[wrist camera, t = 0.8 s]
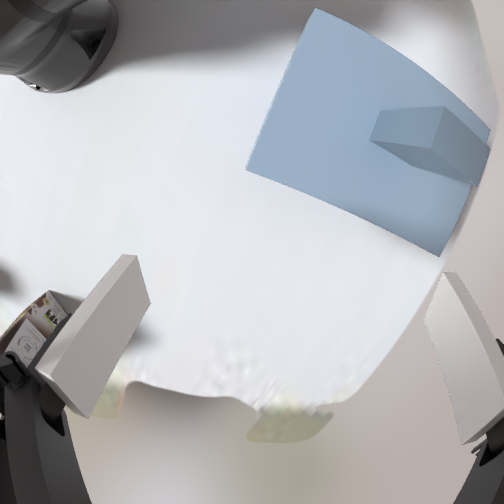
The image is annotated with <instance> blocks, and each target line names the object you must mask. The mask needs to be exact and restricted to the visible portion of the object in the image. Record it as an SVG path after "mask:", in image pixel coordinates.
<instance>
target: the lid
mask: <svg viewBox="0 0 504 504" xmlns="http://www.w3.org/2000/svg"><path fill="white" fill-rule="evenodd" d="M489 133H490V129H489V128H488V127H487V126H486V125H485V124H484V123H483V121H482V120H481V119H480V118H479V117H478V116H477V115H476V114H475V113H474V112H473V111H472V110H470V109H469V108H468V107H467V106H466V105H465V104H464V103H463V102H462V101H461V100H460V99H459V98H458V97H456V96H455V95H454V94H453V93H452V92H451V91H450V90H448V89H447V88H446V87H445V86H444V85H442V84H441V83H440V82H439V81H438V80H436V79H435V78H434V77H433V76H431V75H430V74H429V73H427V72H426V71H425V70H423V69H422V68H421V67H419V66H418V65H417V64H415V63H414V62H412V61H411V60H410V59H408V58H407V57H405V56H404V55H402V54H401V53H399V52H398V51H396V50H395V49H393V48H392V47H390V46H388V45H387V44H385V43H384V42H382V41H380V40H379V39H377V38H375V37H374V36H372V35H370V34H368V33H367V32H365V31H363V30H361V29H359V28H357V27H355V26H354V25H352V24H350V23H348V22H346V21H344V20H342V19H340V18H338V17H335V16H333V15H331V14H329V13H327V12H325V11H322V10H320V9H318V8H315V9H314V11H313V12H312V14H311V16H310V17H309V19H308V21H307V23H306V25H305V28H304V30H303V32H302V34H301V36H300V39H299V41H298V43H297V45H296V47H295V50H294V52H293V54H292V56H291V59H290V61H289V63H288V65H287V68H286V70H285V72H284V75H283V77H282V79H281V81H280V84H279V86H278V88H277V91H276V93H275V95H274V98H273V100H272V103H271V105H270V107H269V110H268V112H267V115H266V117H265V119H264V122H263V124H262V127H261V129H260V132H259V134H258V137H257V139H256V142H255V144H254V147H253V149H252V152H251V154H250V157H249V159H248V162H247V164H246V170H247V171H250V172H253V173H255V174H258V175H261V176H263V177H266V178H268V179H271V180H274V181H276V182H279V183H281V184H284V185H286V186H289V187H291V188H294V189H296V190H299V191H301V192H303V193H306V194H308V195H311V196H313V197H315V198H318V199H320V200H322V201H325V202H327V203H329V204H332V205H334V206H336V207H338V208H341V209H343V210H345V211H347V212H349V213H352V214H354V215H356V216H358V217H360V218H362V219H365V220H367V221H369V222H371V223H373V224H375V225H377V226H379V227H381V228H383V229H386V230H388V231H390V232H392V233H394V234H396V235H398V236H400V237H402V238H404V239H406V240H407V241H409V242H411V243H413V244H415V245H417V246H419V247H421V248H423V249H425V250H427V251H428V252H430V253H432V254H434V255H436V256H438V257H439V256H440V255H441V253H442V251H443V249H444V247H445V245H446V243H447V241H448V239H449V237H450V235H451V233H452V231H453V229H454V226H455V224H456V222H457V220H458V218H459V216H460V213H461V211H462V209H463V206H464V204H465V202H466V199H467V197H468V194H469V192H470V189H471V187H472V185H473V186H475V187H478V184H479V181H480V179H481V176H482V173H483V170H484V167H485V164H486V161H487V158H488V155H489V152H490V148H489V147H488V146H487V145H486V143H487V140H488V137H489Z"/></svg>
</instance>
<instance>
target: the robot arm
mask: <svg viewBox="0 0 504 504" xmlns="http://www.w3.org/2000/svg"><path fill="white" fill-rule="evenodd" d="M117 25H118V19H117V13H116V10H115V8H114V6H113V5H112V3H111V2H109V1H108V0H0V74H3V75H14V76H16V77H17V78H19V79H20V80H21V81H23V82H24V83H25V84H27V85H28V86H29V87H31V88H32V89H34V90H36V91H39V92H44V93H61V92H65V91H68V90H70V89H72V88H74V87H76V86H77V85H79V84H81V83H82V82H83V81H85V80H86V79H87V78H88V77H89V76H90V75H91V74H92V73H93V72H94V71H95V70H96V69H97V68H98V67H99V66H100V64H101V63H102V62H103V60H104V59H105V57H106V56H107V54H108V52H109V50H110V48H111V46H112V44H113V41H114V39H115V36H116V32H117ZM150 304H151V303H150V300H149V297H148V293H147V290H146V286H145V283H144V279H143V276H142V272H141V269H140V265H139V261H138V257H137V255H124V254H123V255H122V256H121V257H120V258H119V259H118V260H117V262H116V263H115V264H114V265H113V266H112V267H111V269H110V270H109V271H108V272H107V273H106V274H105V276H104V277H103V278H102V279H101V280H100V282H99V283H98V284H97V285H96V286H95V288H94V289H93V290H92V291H91V292H90V294H89V295H88V296H87V297H86V299H85V300H84V301H83V302H82V304H81V305H80V306H79V308H78V309H77V310H76V311H75V313H74V314H69V315H68V316H66V317H65V318H64V319H63V320H61V321H60V322H59V324H58V325H57V326H56V328H55V329H54V330H53V331H54V332H52V333H51V334H50V336H49V337H48V340H46V341H45V342H44V344H43V345H42V347H41V348H40V349H39V351H38V352H37V354H36V355H35V357H34V358H33V359H32V361H31V362H30V364H29V365H28V366H27V367H26V366H25V365H24V363H23V362H22V361H21V359H20V358H19V357H18V355H17V354H16V353H15V352H13V351H6V352H4V353H2V354H1V355H0V413H1V414H2V417H1V419H0V504H92V503H91V501H90V498H89V495H88V492H87V490H86V487H85V484H84V481H83V478H82V475H81V471H80V468H79V465H78V461H77V458H76V455H75V451H74V447H73V443H72V439H71V434H70V430H69V426H68V421H67V416H66V413H65V411H64V410H63V409H64V407H65V405H67V406H68V407H69V408H70V409H71V410H72V411H73V412H74V413H76V414H78V415H80V416H82V417H85V418H87V419H89V417H90V415H91V413H92V411H93V409H94V407H95V405H96V403H97V401H98V399H99V397H100V395H101V393H102V391H103V389H104V387H105V385H106V383H107V381H108V379H109V377H110V375H111V373H112V372H113V370H114V368H115V366H116V364H117V362H118V360H119V359H120V357H121V355H122V353H123V351H124V349H125V348H126V346H127V344H128V342H129V340H130V339H131V337H132V335H133V333H134V332H135V330H136V328H137V326H138V325H139V323H140V321H141V319H142V318H143V316H144V314H145V312H146V311H147V309H148V307H149V306H150ZM423 320H424V322H425V325H426V328H427V330H428V333H429V335H430V338H431V341H432V343H433V346H434V349H435V352H436V355H437V358H438V361H439V363H440V366H441V370H442V373H443V376H444V379H445V382H446V385H447V389H448V393H449V396H450V400H451V403H452V407H453V411H454V415H455V419H456V423H457V428H458V432H459V437H460V442H461V445H464V444H467V443H470V442H473V441H476V440H477V439H479V438H480V437H481V436H483V435H484V434H485V433H486V436H487V439H485V440H484V441H483V442H482V443H480V444H479V445H478V446H476V447H475V448H474V449H473V450H472V452H471V453H474V452H476V451H477V450H479V449H480V451H479V452H478V453H477V454H476V456H477V458H476V460H475V462H474V464H473V467H472V469H471V471H470V473H469V475H468V477H467V479H466V481H465V483H464V485H463V487H462V489H461V491H460V492H459V494H458V496H457V498H456V500H455V501H454V503H453V504H504V344H503V343H502V342H501V341H500V340H499V339H495V338H494V336H493V334H492V332H491V330H490V328H489V326H488V324H487V322H486V320H485V319H484V317H483V315H482V313H481V312H480V310H479V308H478V307H477V305H476V303H475V301H474V300H473V298H472V296H471V295H470V293H469V291H468V290H467V288H466V287H465V285H464V283H463V282H462V280H461V279H460V277H459V276H458V274H457V273H453V272H452V273H451V272H443V274H442V276H441V279H440V282H439V284H438V287H437V289H436V292H435V294H434V297H433V299H432V302H431V304H430V306H429V308H428V311H427V313H426V315H425V317H424V319H423Z"/></svg>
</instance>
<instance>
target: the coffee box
mask: <svg viewBox="0 0 504 504" xmlns="http://www.w3.org/2000/svg"><path fill="white" fill-rule="evenodd" d="M66 316H68V315H67V314H66V312H65V311H64V310H63V308H62V307H61V306H60V304H59V303H58V302H57V300H56V299H55V298H54V296H53V295H52V293H51V292H50V291H47V292H45V293H44V294H43V295H42V296H40V297H39V298H38V299H37V300H35V301H34V302H33V303H32V304H31V305H29V306H28V307H27V308H26V309H25V310H24V311H23V312H22V313H21V314H20V315H19V317H18V318H17V319H16V320H15V321H14V322H13V323H12V324H11V325H10V327H9V328H8V329H7V330H6V331H5V332H4V334H3V335H2V336H1V337H0V355H1V354H2V353H4V352H6V351H13V352H15V353H16V354H17V355H18V357H19V358H20V359H21V361H22V362H23V363H24V365H25V366H26V367H27V366H28V365H29V364H30V362H31V361H32V359H33V358H34V357H35V355H36V354H37V352H38V351H39V349H40V348H41V347H42V345H43V344H44V342H45V341H46V340H48V337H49V336H50V334H51V333H52V332H54V331H53V330H54V329H55V328H56V326H57V325H58V324H59V322H60V321H61V320H63V319H64V318H65V317H66Z"/></svg>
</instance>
